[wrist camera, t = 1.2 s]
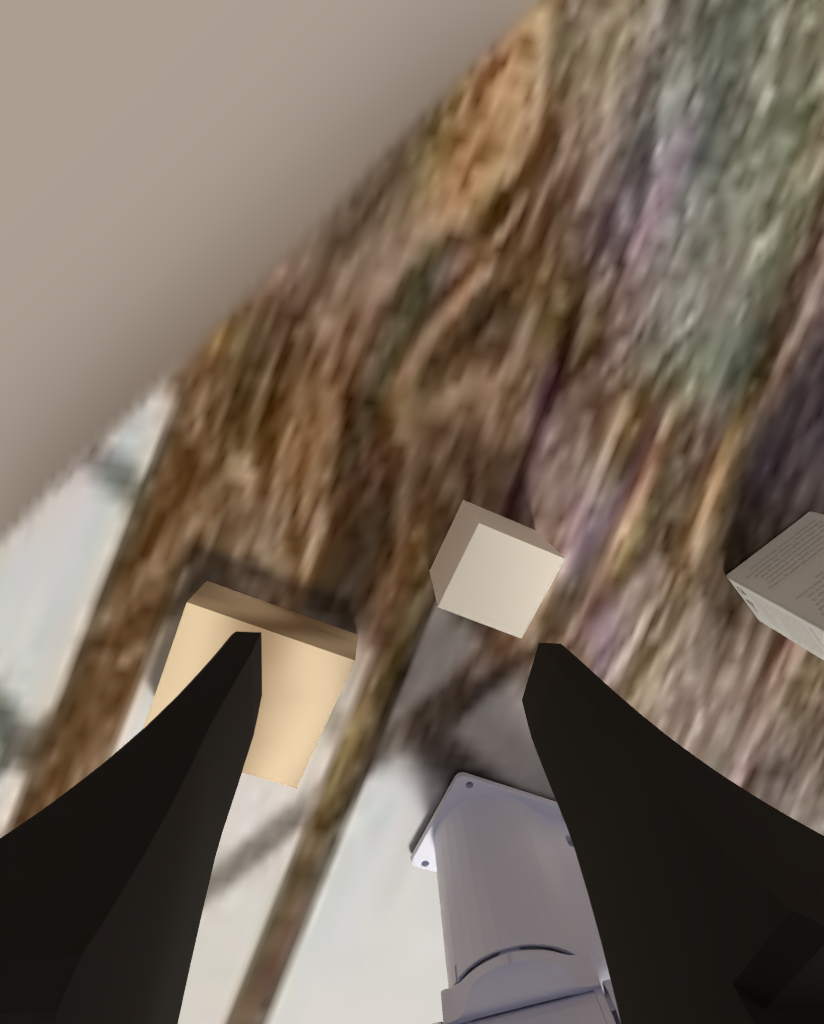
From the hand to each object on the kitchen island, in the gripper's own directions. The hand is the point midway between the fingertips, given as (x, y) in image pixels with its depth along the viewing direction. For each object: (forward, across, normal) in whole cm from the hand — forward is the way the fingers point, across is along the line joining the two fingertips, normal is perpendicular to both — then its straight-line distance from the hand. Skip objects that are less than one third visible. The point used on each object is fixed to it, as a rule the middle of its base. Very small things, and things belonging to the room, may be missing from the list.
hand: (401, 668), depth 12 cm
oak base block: (+13, +6, +12) cm, 19 cm away
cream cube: (+13, -6, +3) cm, 15 cm away
